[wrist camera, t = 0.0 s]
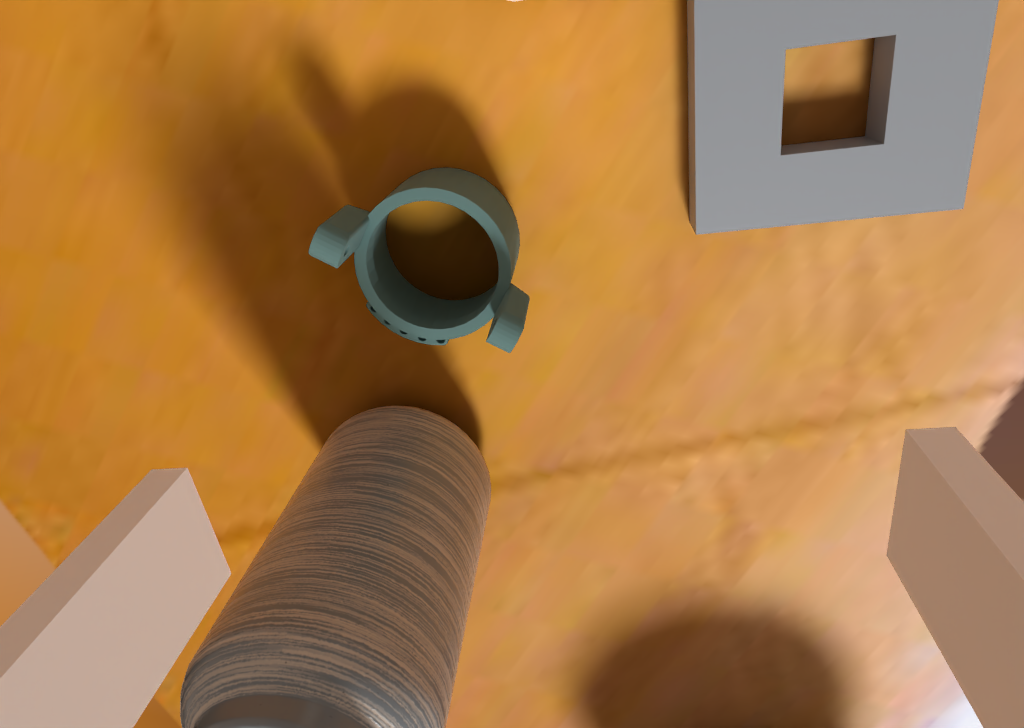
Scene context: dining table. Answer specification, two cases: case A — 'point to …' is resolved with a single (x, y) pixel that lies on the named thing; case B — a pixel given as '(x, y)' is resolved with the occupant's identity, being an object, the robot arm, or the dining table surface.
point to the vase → (354, 587)
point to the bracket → (400, 299)
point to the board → (841, 162)
